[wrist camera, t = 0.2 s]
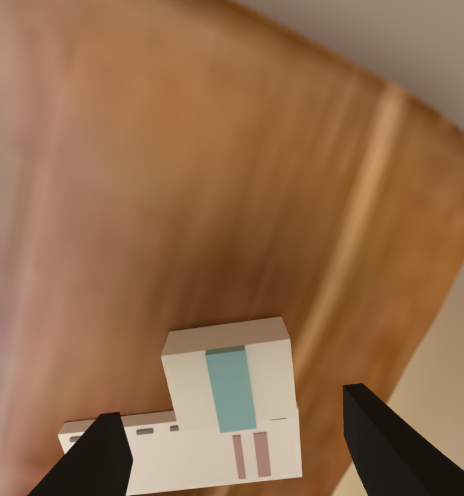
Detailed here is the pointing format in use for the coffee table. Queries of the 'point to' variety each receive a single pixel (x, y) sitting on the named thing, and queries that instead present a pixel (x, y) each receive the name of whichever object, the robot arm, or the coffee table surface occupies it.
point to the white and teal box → (230, 375)
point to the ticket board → (201, 452)
